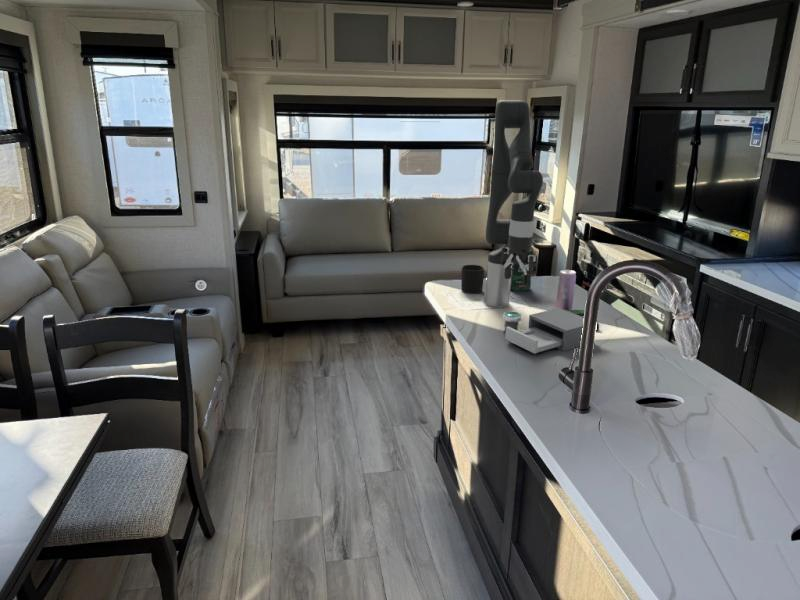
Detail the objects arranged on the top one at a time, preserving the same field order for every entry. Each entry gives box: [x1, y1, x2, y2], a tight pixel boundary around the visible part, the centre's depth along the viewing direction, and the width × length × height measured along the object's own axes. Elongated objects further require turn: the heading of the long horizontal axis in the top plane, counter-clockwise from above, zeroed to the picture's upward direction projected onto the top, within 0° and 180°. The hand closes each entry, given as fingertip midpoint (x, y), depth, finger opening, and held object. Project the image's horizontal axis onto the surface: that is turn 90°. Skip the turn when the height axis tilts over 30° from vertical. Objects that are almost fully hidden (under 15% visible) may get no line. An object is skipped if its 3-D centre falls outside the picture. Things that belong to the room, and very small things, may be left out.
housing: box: [527, 307, 584, 352], centre depth 185 cm, size 16×14×7 cm
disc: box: [502, 311, 522, 323], centre depth 189 cm, size 6×6×2 cm
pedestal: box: [503, 320, 519, 335], centre depth 190 cm, size 4×4×5 cm
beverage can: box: [555, 269, 577, 310], centre depth 211 cm, size 6×6×15 cm
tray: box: [504, 327, 563, 354], centre depth 179 cm, size 13×13×4 cm
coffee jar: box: [510, 247, 535, 292], centre depth 234 cm, size 10×8×19 cm
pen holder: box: [460, 264, 485, 295], centre depth 232 cm, size 9×9×10 cm
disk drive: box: [566, 309, 600, 331], centre depth 200 cm, size 10×3×15 cm
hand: (516, 281), depth 184 cm, fingers open, 8 cm apart
